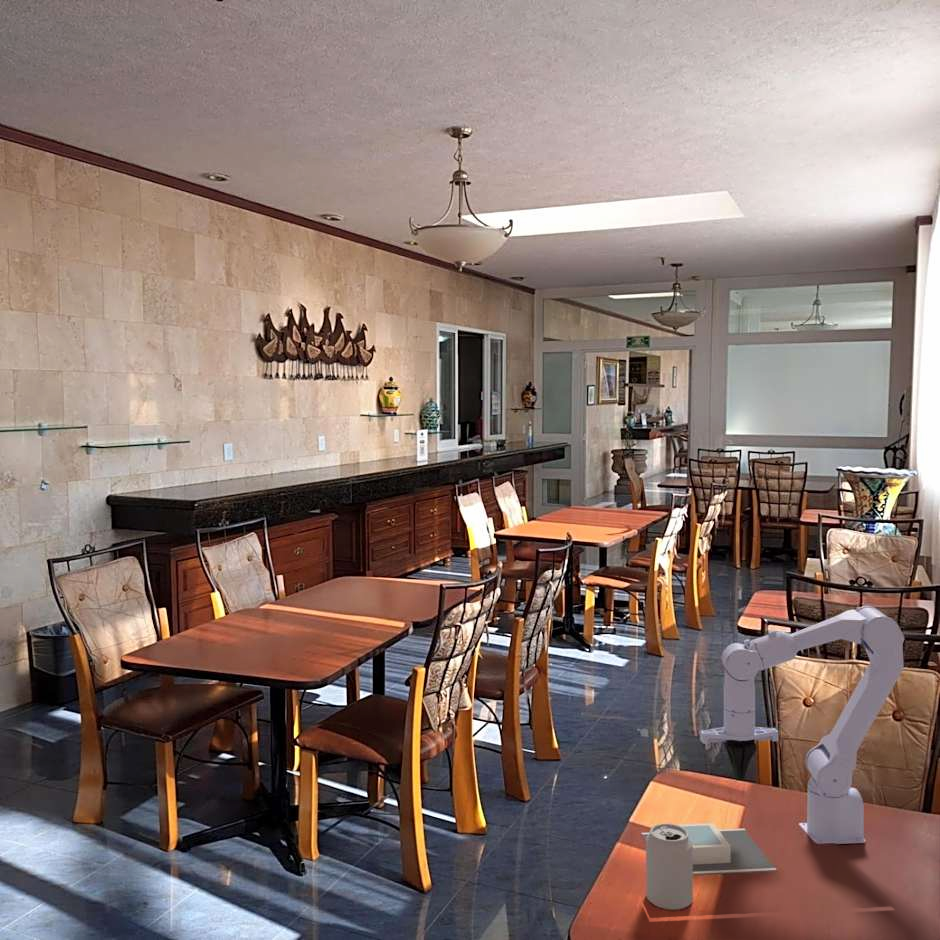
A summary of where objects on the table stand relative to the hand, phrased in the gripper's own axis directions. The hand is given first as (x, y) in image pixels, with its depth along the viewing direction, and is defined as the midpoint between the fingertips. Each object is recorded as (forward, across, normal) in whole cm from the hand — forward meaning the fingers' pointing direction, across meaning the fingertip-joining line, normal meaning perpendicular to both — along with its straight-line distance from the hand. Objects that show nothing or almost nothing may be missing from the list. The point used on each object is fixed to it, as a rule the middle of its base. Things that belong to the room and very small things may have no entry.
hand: (738, 778), depth 170 cm
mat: (+10, +9, +8) cm, 16 cm away
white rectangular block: (+8, +6, +8) cm, 13 cm away
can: (+11, +20, +23) cm, 32 cm away
